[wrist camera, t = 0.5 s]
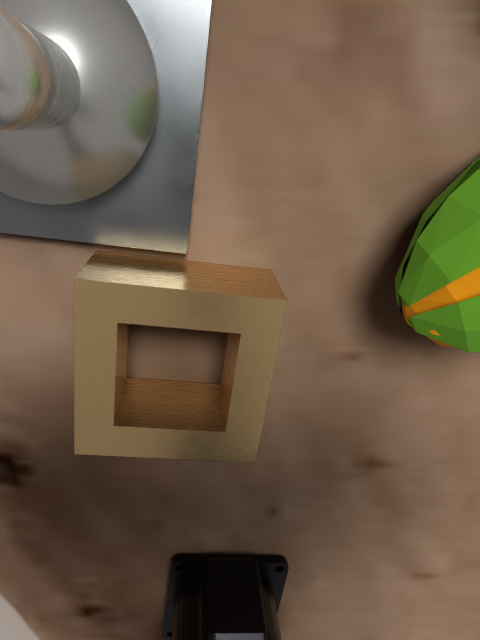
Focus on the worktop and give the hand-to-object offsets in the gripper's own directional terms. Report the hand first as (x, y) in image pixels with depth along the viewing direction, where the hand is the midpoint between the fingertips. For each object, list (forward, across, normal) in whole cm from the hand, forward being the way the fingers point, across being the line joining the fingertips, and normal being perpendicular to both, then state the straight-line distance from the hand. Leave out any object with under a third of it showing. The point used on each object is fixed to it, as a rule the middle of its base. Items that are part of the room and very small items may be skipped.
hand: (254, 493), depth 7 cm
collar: (+12, +1, +3) cm, 13 cm away
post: (+12, +6, -6) cm, 15 cm away
